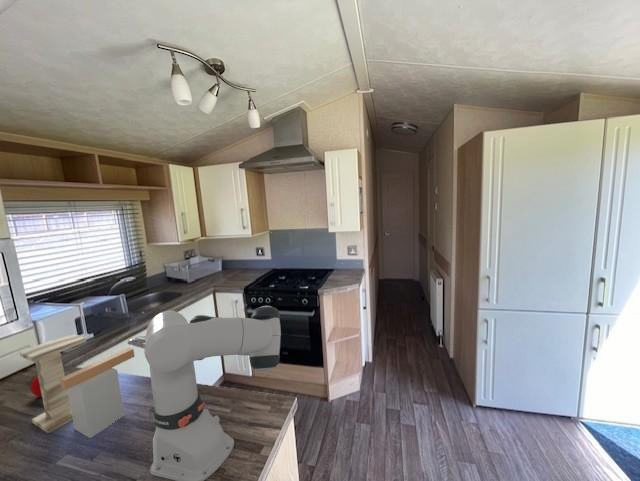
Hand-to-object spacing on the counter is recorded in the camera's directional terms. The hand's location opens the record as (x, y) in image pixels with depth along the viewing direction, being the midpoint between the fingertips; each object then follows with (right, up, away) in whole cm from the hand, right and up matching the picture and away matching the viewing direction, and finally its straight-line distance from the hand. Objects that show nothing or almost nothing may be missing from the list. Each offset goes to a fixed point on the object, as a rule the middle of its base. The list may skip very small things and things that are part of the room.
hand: (136, 343), depth 103 cm
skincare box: (-60, -22, +28) cm, 70 cm away
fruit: (-40, -23, +7) cm, 47 cm away
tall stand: (-21, -23, -6) cm, 32 cm away
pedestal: (-5, -22, -11) cm, 25 cm away
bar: (-5, -5, -11) cm, 13 cm away
